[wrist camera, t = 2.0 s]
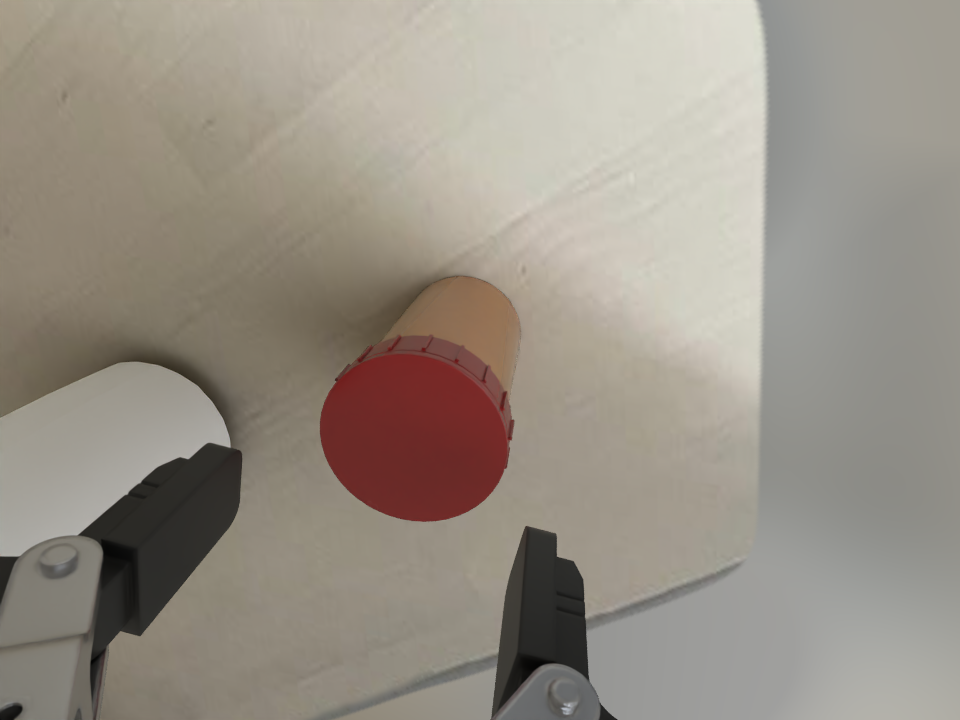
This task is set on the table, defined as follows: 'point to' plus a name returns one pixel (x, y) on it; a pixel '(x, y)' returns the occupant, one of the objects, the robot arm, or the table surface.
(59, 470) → the cup
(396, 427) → the jar lid
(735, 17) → the table surface
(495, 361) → the jam jar
